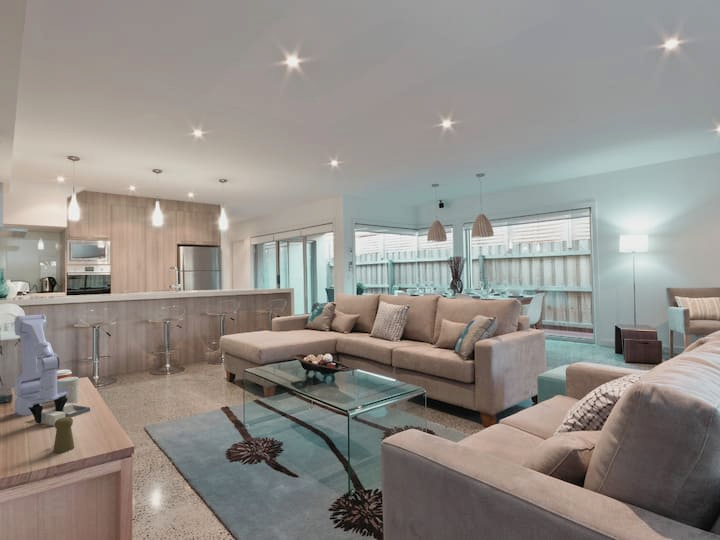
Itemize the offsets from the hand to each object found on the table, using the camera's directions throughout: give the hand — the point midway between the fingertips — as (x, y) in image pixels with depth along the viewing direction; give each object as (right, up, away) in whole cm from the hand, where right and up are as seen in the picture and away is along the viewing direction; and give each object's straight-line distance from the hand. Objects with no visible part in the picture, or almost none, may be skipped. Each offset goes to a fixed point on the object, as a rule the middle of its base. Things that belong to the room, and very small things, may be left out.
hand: (48, 419), depth 162 cm
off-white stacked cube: (0, -1, 0) cm, 1 cm away
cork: (+22, -3, -22) cm, 31 cm away
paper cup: (-20, -3, +33) cm, 39 cm away
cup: (-11, -3, +26) cm, 29 cm away
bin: (0, -3, +11) cm, 11 cm away
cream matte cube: (-2, -2, +11) cm, 12 cm away
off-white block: (+5, -1, -2) cm, 5 cm away
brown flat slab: (-1, -3, 0) cm, 3 cm away
